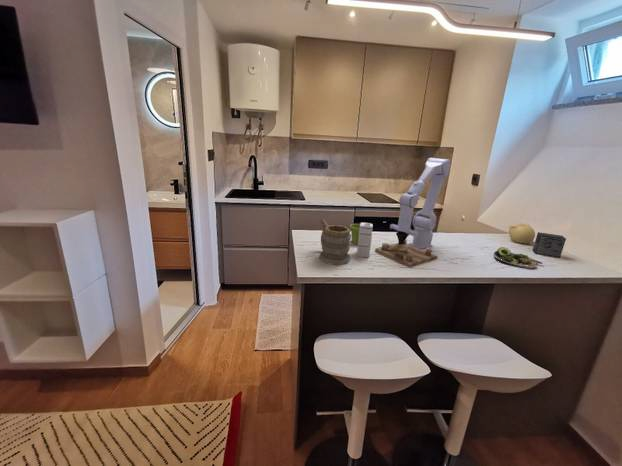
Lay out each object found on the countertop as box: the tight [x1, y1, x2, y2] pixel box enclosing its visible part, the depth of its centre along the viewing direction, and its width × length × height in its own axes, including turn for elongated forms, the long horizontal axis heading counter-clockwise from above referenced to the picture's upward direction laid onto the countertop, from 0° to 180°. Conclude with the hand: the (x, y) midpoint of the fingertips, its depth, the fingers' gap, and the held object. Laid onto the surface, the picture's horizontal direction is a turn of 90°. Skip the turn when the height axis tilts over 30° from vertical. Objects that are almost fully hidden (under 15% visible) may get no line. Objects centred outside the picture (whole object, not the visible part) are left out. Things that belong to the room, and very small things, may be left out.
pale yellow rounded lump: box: [508, 222, 536, 245], centre depth 165 cm, size 11×12×11 cm
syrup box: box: [356, 222, 374, 258], centre depth 131 cm, size 6×6×14 cm
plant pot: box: [349, 223, 360, 245], centre depth 147 cm, size 9×9×9 cm
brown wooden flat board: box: [374, 239, 438, 268], centre depth 135 cm, size 20×20×4 cm
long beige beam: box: [381, 242, 408, 251], centre depth 136 cm, size 12×3×2 cm, turn 89°
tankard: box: [319, 218, 352, 266], centre depth 127 cm, size 20×13×15 cm, turn 27°
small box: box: [531, 232, 567, 259], centre depth 147 cm, size 11×6×10 cm, turn 65°
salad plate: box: [493, 246, 543, 269], centre depth 136 cm, size 19×18×5 cm
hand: (400, 246), depth 139 cm, fingers closed, pressing on long beige beam
